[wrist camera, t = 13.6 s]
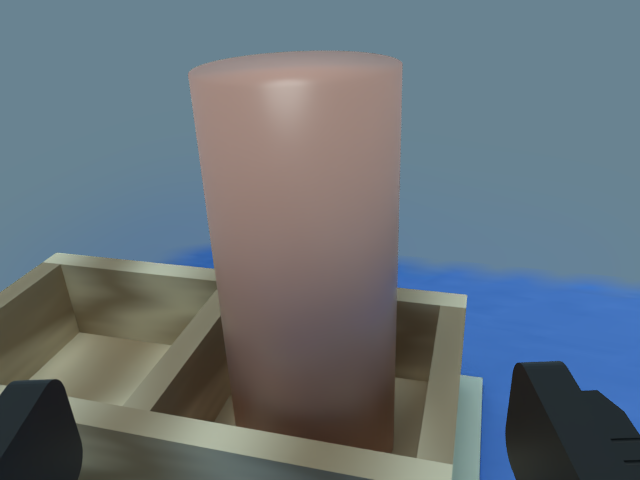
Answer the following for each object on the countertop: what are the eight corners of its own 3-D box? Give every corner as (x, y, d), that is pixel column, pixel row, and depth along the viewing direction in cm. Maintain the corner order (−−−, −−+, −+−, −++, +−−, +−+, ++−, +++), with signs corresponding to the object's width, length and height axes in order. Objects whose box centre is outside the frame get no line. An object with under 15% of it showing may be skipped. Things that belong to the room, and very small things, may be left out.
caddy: (-80, 483, 22) (-131, 383, 20) (79, 334, 31) (56, 252, 29) (440, 609, 17) (450, 494, 15) (459, 389, 26) (467, 295, 24)
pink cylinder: (212, 482, 21) (145, 85, 14) (270, 376, 26) (239, 50, 20) (377, 517, 19) (381, 89, 13) (403, 397, 24) (415, 50, 18)
